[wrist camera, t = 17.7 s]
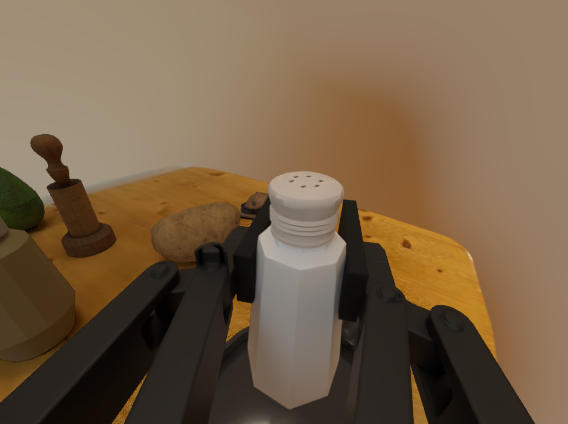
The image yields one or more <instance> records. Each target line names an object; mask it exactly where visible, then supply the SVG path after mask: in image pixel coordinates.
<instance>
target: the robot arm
mask: <svg viewBox="0 0 568 424" xmlns="http://www.w3.org/2000/svg"><path fill="white" fill-rule="evenodd" d="M270 205H271V201H270V198H269V196H268V197H267V199H266V201H265V202H264V204H263V205H262V207H261V209H260V210H259V212H258V214H257V215H256V217H255V219H254V220H253V222H252V224H251V225H250V227H244V226H238V227H236V228H235V229H233V230H232V231H231V232H230V233H229V235H228V237H227V238H226V239H225V240H224V242H223V243H222V244H221V243H218V242H209V243H205V244H202V245H201V246H199V247H197V248H196V250H195V251H194V253H195V258H196V263H197V268H191V269H179V270H178V266H177V265H176V263H174V262H171V261H163V262H158V263H156V264H153V265H151V266H150V267H149V268H147V269H146V270H145V271H144V272H143V273H142V274H141V275H139V276H138V277H137V278H136V279H135V280H134V281H133V282H132V283H131V284H130V285H129V286H127V287H126V288H125V289H124V290H123V291H122V292H121V293H120V294H119V295H118V296H117V297H115V298H114V299H113V300H112V301H111V302H110V303H109V304H108V305H107V306H106V307H104V308H103V309H102V310H101V311H100V312H99V313H98V314H97V315H96V316H95V317H94V318H92V319H91V320H90V321H89V322H88V323H87V324H86V325H85V326H84V327H83V328H82V329H80V330H79V331H78V332H77V333H76V334H75V335H74V336H73V337H72V338H71V339H70V340H68V341H67V342H66V343H65V344H64V345H63V346H62V347H61V348H60V349H59V350H57V351H56V352H55V353H54V354H53V355H52V356H51V357H50V358H49V359H48V360H47V361H45V362H44V363H43V364H42V365H41V366H40V367H39V368H38V369H37V370H36V371H35V372H33V373H32V374H31V375H30V376H29V377H28V378H27V379H26V380H25V381H24V382H23V383H21V384H20V385H19V386H18V387H17V388H16V389H15V390H14V391H13V392H12V393H11V394H9V395H8V396H7V397H6V398H5V399H4V400H3V401H2V402H1V403H0V424H112V422H113V421H114V419H115V418H116V417H117V415H118V414H119V412H120V411H121V409H122V408H123V407H124V405H125V404H126V402H127V401H128V399H129V398H130V397H131V395H132V394H133V392H134V391H135V389H136V388H137V386H138V385H139V384H140V382H141V381H142V379H143V378H144V376H145V375H146V374H147V375H146V378H145V380H144V382H143V384H142V386H141V388H140V390H139V393H138V395H137V397H136V399H135V401H134V403H133V405H132V408H131V410H130V412H129V414H128V416H127V418H126V420H125V423H124V424H208V420H209V416H210V411H211V406H212V402H213V397H214V393H215V388H216V384H217V379H218V375H219V370H220V366H221V361H222V356H223V352H224V347H225V343H226V338H227V334H228V329H229V325H230V320H231V316H232V311H233V299H234V297H235V295H236V294H237V301H242V302H247V303H253V301H254V299H255V284H256V251H257V243H258V236H259V235H260V234H261V233H263V232H264V231H265V230H266V229H267V228H268V227H269V226H270V225H271V220H270ZM338 235H339V236H340V237H341V238H342V239H343V240H344V241H345V242H346V261H345V268H344V275H343V282H342V288H341V295H340V302H339V309H338V319H340V320H345V321H351V322H356V321H357V318H358V317H359V327H358V330H357V334H356V337H355V341H354V343H355V349H354V356H353V363H352V370H351V377H350V384H349V391H348V397H347V404H346V411H345V418H344V424H414V418H413V402H412V386H411V370H410V365H411V368H412V371H413V375H414V378H415V381H416V384H417V388H418V391H419V394H420V397H421V401H422V404H423V407H424V410H425V414H426V417H427V420H428V423H429V424H535V423H534V421H533V420H532V418H531V416H530V415H529V413H528V411H527V410H526V408H525V407H524V405H523V403H522V402H521V400H520V399H519V397H518V396H517V394H516V392H515V391H514V389H513V387H512V386H511V384H510V383H509V381H508V379H507V378H506V376H505V374H504V373H503V371H502V370H501V368H500V367H499V365H498V363H497V362H496V360H495V358H494V357H493V355H492V354H491V352H490V350H489V349H488V347H487V345H486V344H485V342H484V341H483V339H482V337H481V336H480V334H479V333H478V331H477V329H476V328H475V326H474V325H473V323H472V322H471V321H470V320H469V318H468V317H467V316H465V315H464V314H463V313H461V312H460V311H458V310H456V309H454V308H452V307H449V306H445V305H436V306H434V307H432V309H431V311H429V310H427V309H424V308H422V307H420V306H417V305H415V304H413V303H411V302H409V301H408V300H406V299H405V296H404V294H403V293H402V292H401V291H400V290H399V289H398V288H396V286H395V283H394V279H393V276H392V273H391V269H390V266H389V263H388V259H387V256H386V252H385V250H384V249H383V248H382V247H381V245H380V244H378V243H371V242H363V238H362V232H361V226H360V221H359V215H358V209H357V204H356V201H354V200H343V205H342V211H341V217H340V223H339V229H338ZM147 372H148V373H147Z"/></svg>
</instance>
